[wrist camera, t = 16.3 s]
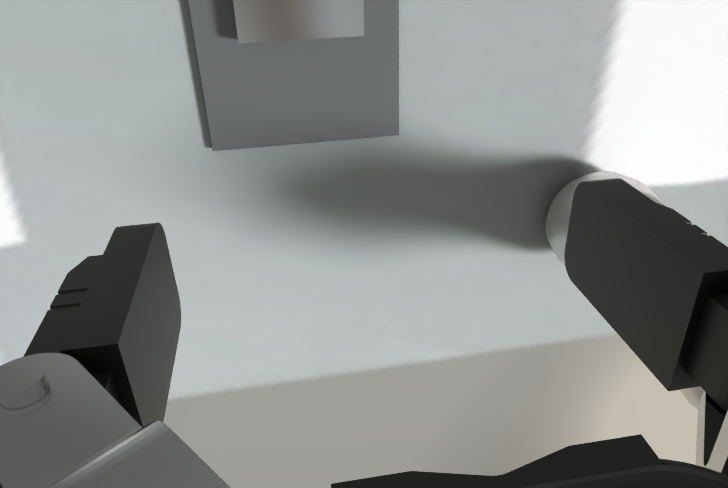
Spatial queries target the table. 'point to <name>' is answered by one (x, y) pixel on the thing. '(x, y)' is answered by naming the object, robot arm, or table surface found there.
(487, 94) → the table surface
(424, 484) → the robot arm
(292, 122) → the tool mat
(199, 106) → the table surface
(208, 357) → the table surface
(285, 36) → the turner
